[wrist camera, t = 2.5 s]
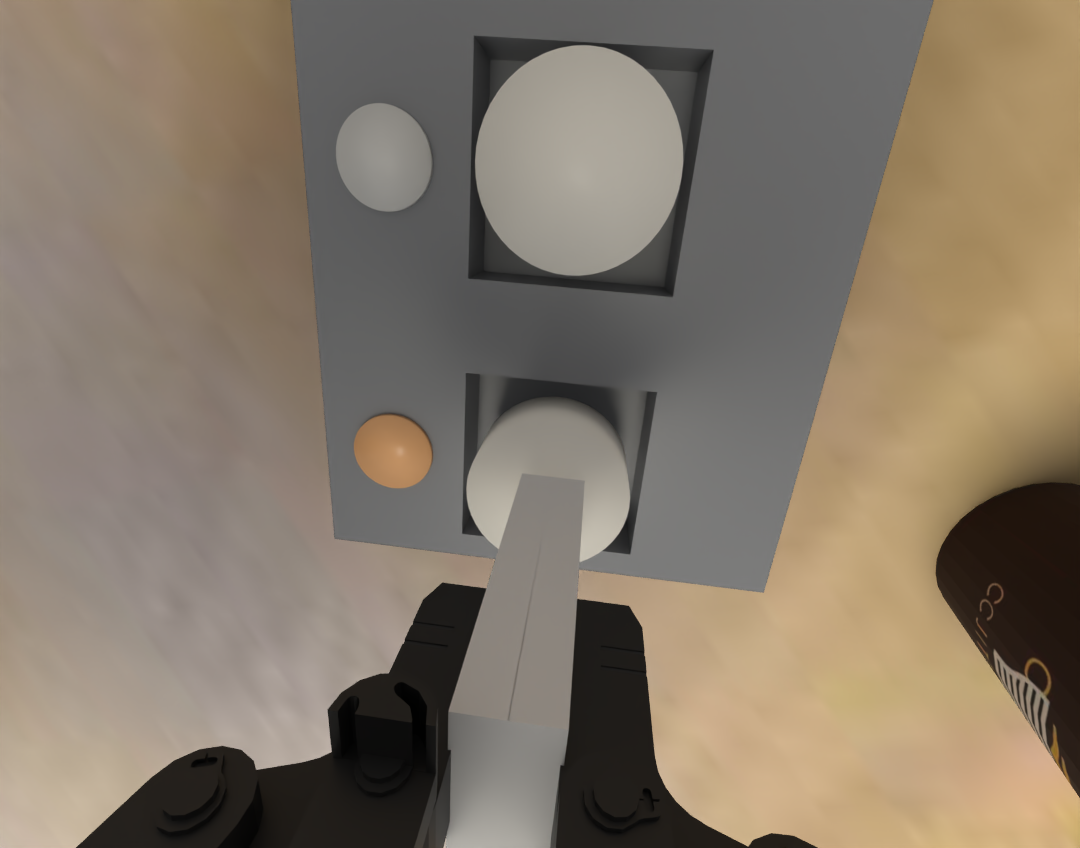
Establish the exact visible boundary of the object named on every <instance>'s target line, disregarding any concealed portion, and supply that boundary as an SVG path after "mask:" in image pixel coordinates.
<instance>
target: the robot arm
mask: <svg viewBox="0 0 1080 848" xmlns="http://www.w3.org/2000/svg"><path fill="white" fill-rule="evenodd" d="M584 485H585V481H582V480H574V479H565V478H557V477H548V476H540V475H531V474H523V473H522V475H521V479H520V482H519V485H518V488H517V491H516V495H515V498H514V501H513V504H512V508H511V511H510V514H509V517H508V521H507V524H506V527H505V530H504V533H503V537H502V540H501V543H500V546H499V550H498V553H497V556H496V559H495V562H494V566H493V569H492V572H491V575H490V579H489V582H488V585H487V588H486V589H485V588H478V587H470V586H463V585H455V584H448V583H442V584H440V585H439V586H438V587H437V588H436V589H435V590H434V591H433V592H431V593H430V594H429V595H428V596H427V597H426V598H425V599H423V601H422V603H421V606H420V608H419V610H418V612H417V614H416V616H415V619H414V621H413V625H411V627H410V629H409V631H408V634H407V636H406V638H405V642H404V644H402V647H401V649H400V651H399V653H398V655H397V657H396V659H395V662H394V664H393V666H392V668H391V670H390V672H389V674H378V675H375V676H372V677H369V678H366V679H363V680H360V681H358V682H357V683H355V684H354V685H352V686H351V687H349V688H348V689H346V690H345V691H343V692H342V693H341V694H340V695H339V696H338V698H337V699H336V700H335V701H334V703H333V704H332V705H331V706H330V708H329V709H328V718H329V728H330V738H331V748H332V752H331V753H329V754H327V755H325V756H323V757H321V758H317V759H314V760H310V761H306V762H302V763H296V764H290V765H284V766H278V767H272V768H266V769H260V770H256V768H255V764H254V761H253V760H252V759H251V758H250V757H249V756H247V755H246V754H245V753H244V752H243V751H242V750H239V749H234V748H230V747H225V746H219V747H213V748H206V749H200V750H197V751H195V752H193V753H190V754H188V755H186V756H184V757H181V758H179V759H177V760H174V761H173V762H172V763H170V764H169V765H168V766H166V767H165V768H164V769H162V770H161V771H160V772H158V773H157V774H156V775H154V776H153V777H152V778H150V779H149V780H148V781H147V782H146V783H145V784H144V785H143V786H142V787H141V788H140V789H139V790H138V791H136V792H135V793H134V794H133V795H132V796H131V797H130V798H129V799H128V800H127V801H126V802H125V803H124V804H122V805H121V806H120V807H119V808H118V809H117V810H116V811H115V812H114V813H113V814H112V815H111V816H110V817H108V818H107V819H106V820H105V821H104V822H103V823H102V824H101V825H100V826H99V827H98V828H97V829H96V830H95V831H93V832H92V833H91V834H90V835H89V836H88V837H87V838H86V839H85V840H84V841H83V842H82V843H81V844H79V845H78V846H77V847H76V848H443V846H444V842H445V838H446V848H817V847H815V846H813V845H811V844H809V843H807V842H805V841H803V840H801V839H799V838H797V837H795V836H790V835H782V834H773V833H771V834H768V835H765V836H763V837H760V838H757V839H755V840H753V841H752V842H751V844H750V845H749V847H748V846H746V845H744V844H742V843H740V842H738V841H736V840H734V839H732V838H730V837H728V836H726V835H724V834H722V833H720V832H718V831H716V830H714V829H712V828H710V827H708V826H707V825H705V824H703V823H702V822H700V821H699V820H697V819H696V818H694V817H692V816H691V815H690V814H689V813H688V812H686V811H685V810H684V809H683V808H682V807H681V806H680V805H679V804H678V803H677V802H676V801H675V800H674V798H673V797H672V796H671V794H670V793H669V791H668V790H667V789H666V787H665V785H664V783H663V781H662V779H661V777H660V775H659V773H658V769H657V765H656V760H655V754H654V744H653V734H652V723H651V713H650V703H649V693H648V682H647V677H646V662H645V656H644V641H643V631H642V627H641V625H640V623H639V622H638V620H637V618H636V617H635V615H634V613H633V612H632V610H631V609H630V607H629V606H626V605H618V604H611V603H603V602H596V601H588V600H581V599H577V593H578V577H579V562H580V547H581V531H582V516H583V500H584ZM446 834H447V835H446Z"/></svg>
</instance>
